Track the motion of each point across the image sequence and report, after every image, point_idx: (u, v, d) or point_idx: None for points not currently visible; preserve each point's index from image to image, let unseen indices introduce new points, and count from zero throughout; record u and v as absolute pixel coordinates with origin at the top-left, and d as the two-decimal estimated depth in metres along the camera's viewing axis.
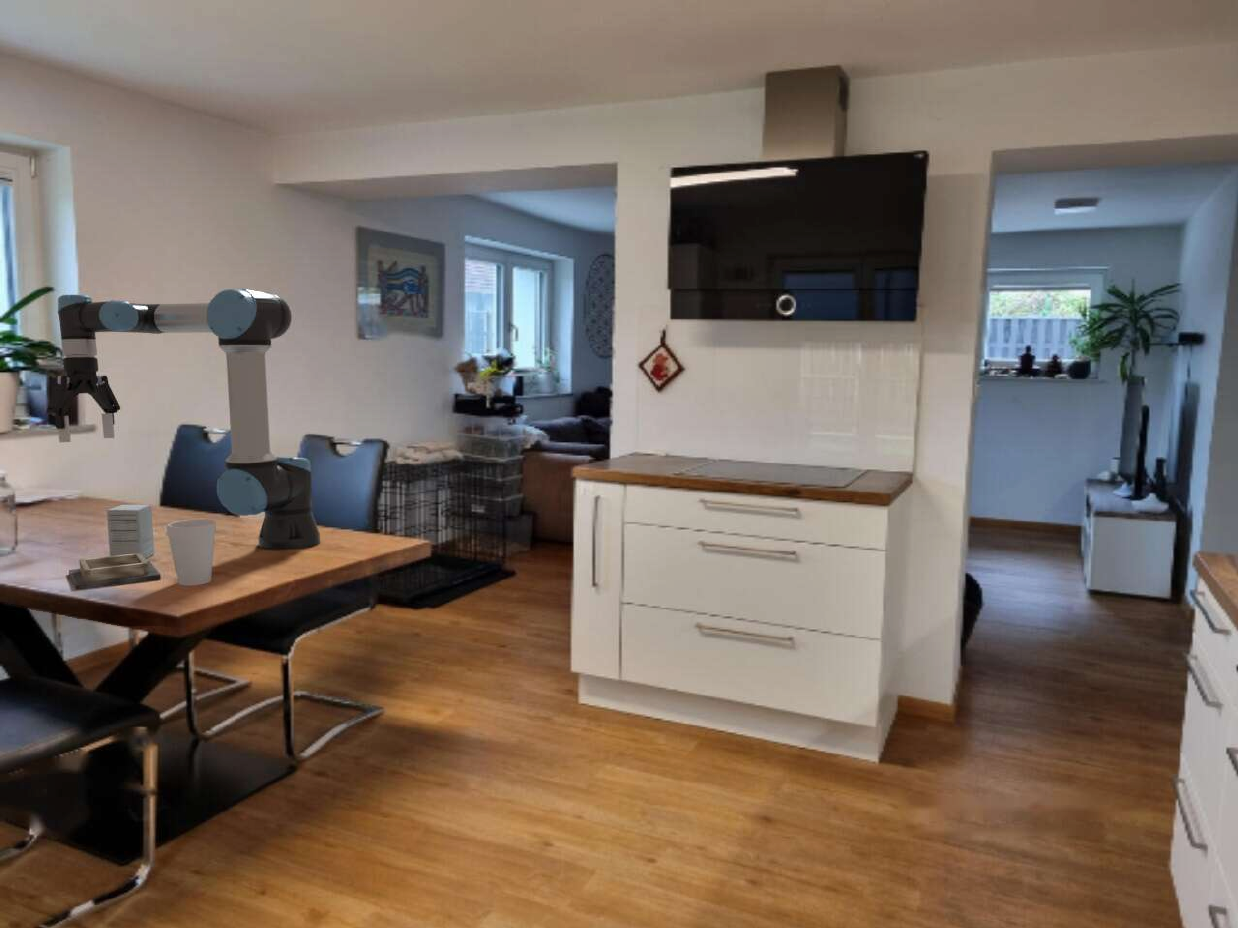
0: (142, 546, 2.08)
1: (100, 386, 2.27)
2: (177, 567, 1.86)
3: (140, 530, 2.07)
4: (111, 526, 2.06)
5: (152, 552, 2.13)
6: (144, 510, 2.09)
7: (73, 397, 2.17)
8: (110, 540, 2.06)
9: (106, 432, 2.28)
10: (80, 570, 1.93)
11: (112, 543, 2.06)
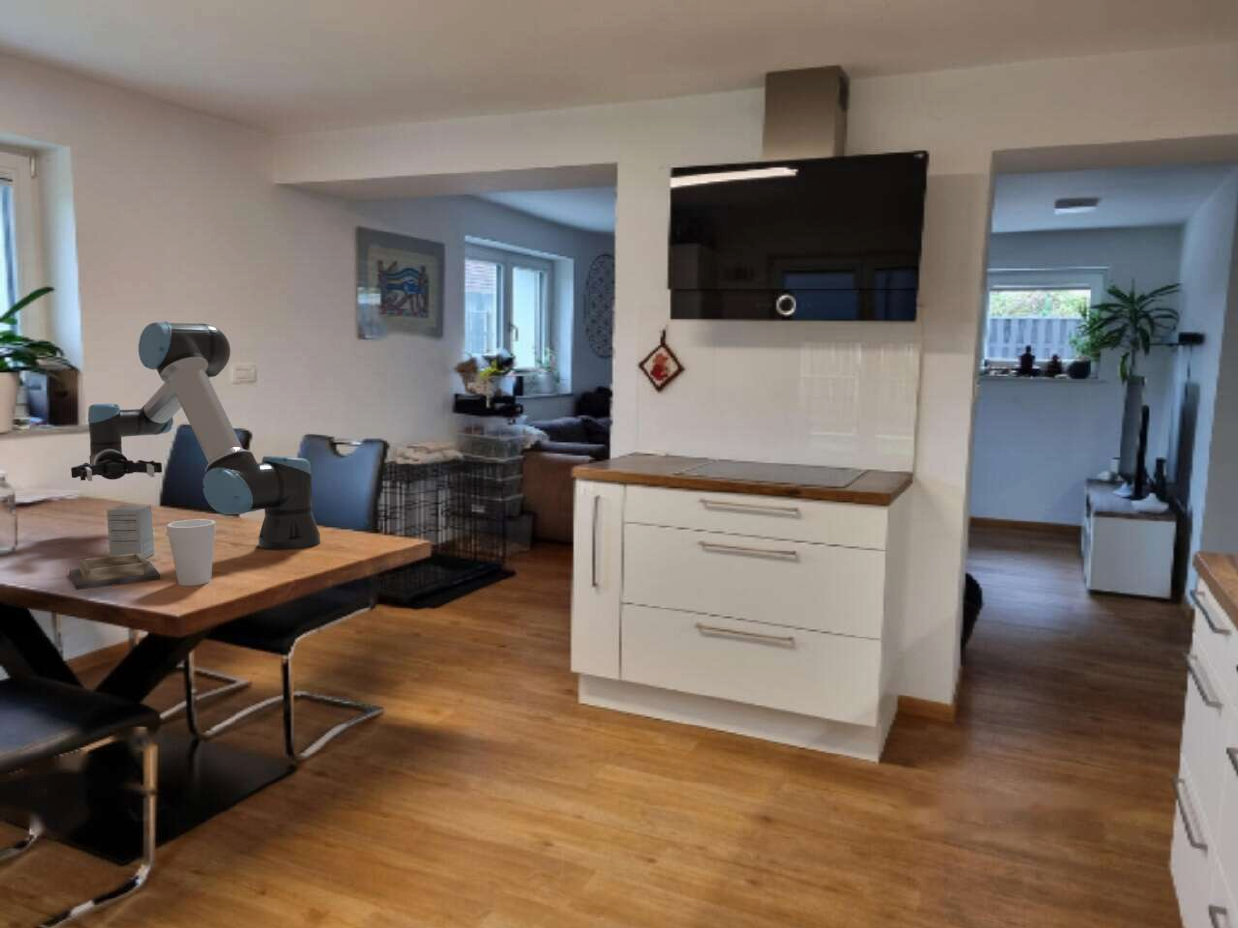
0: (142, 546, 2.08)
1: None
2: (177, 567, 1.86)
3: (140, 530, 2.07)
4: (111, 526, 2.06)
5: (152, 552, 2.13)
6: (144, 510, 2.09)
7: (96, 465, 2.22)
8: (110, 540, 2.06)
9: (150, 472, 2.21)
10: (80, 570, 1.93)
11: (112, 543, 2.06)
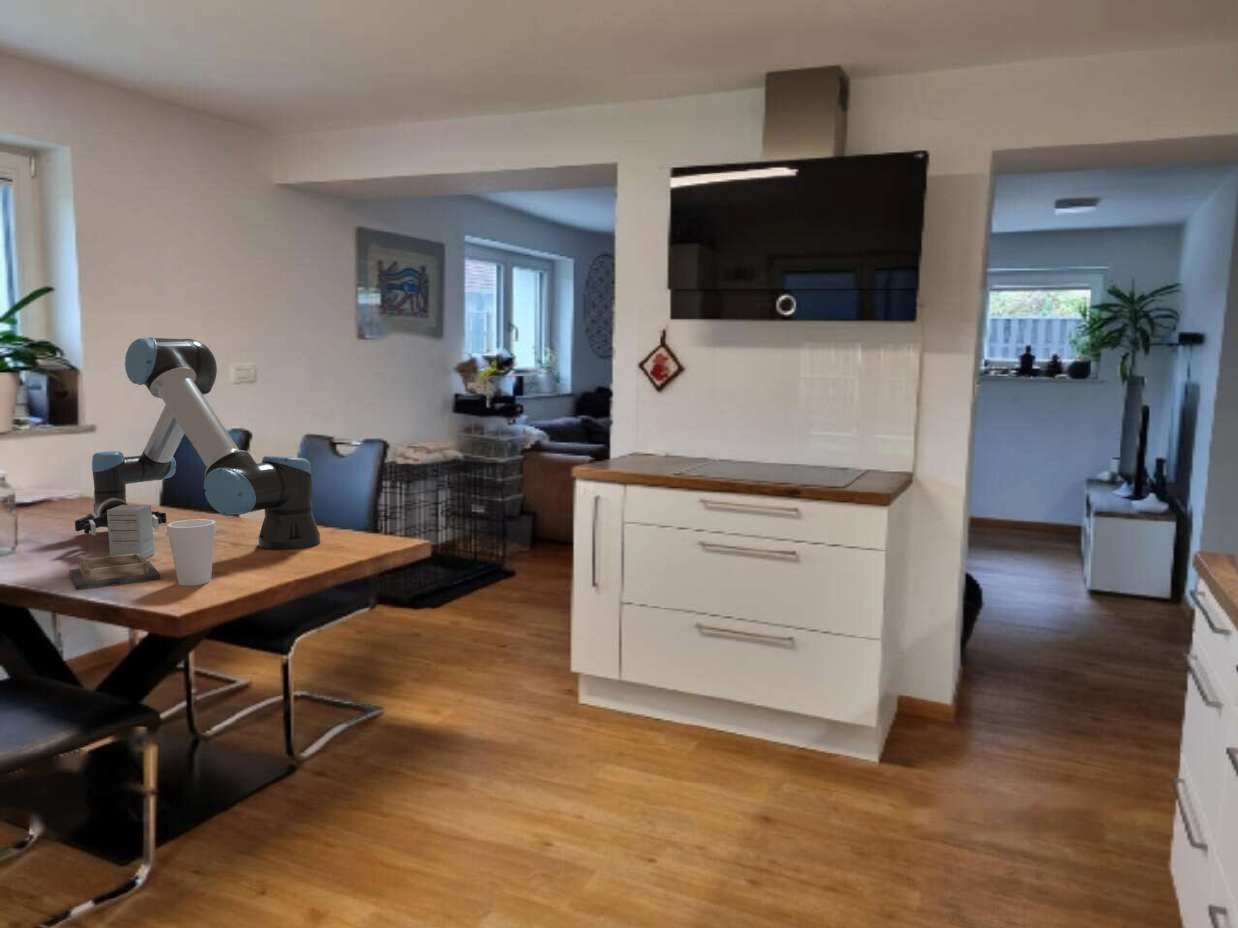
0: (142, 546, 2.08)
1: None
2: (177, 567, 1.86)
3: (140, 530, 2.07)
4: (111, 526, 2.06)
5: (152, 552, 2.13)
6: (144, 510, 2.09)
7: (100, 516, 2.20)
8: (110, 540, 2.06)
9: (154, 524, 2.19)
10: (80, 570, 1.93)
11: (112, 543, 2.06)
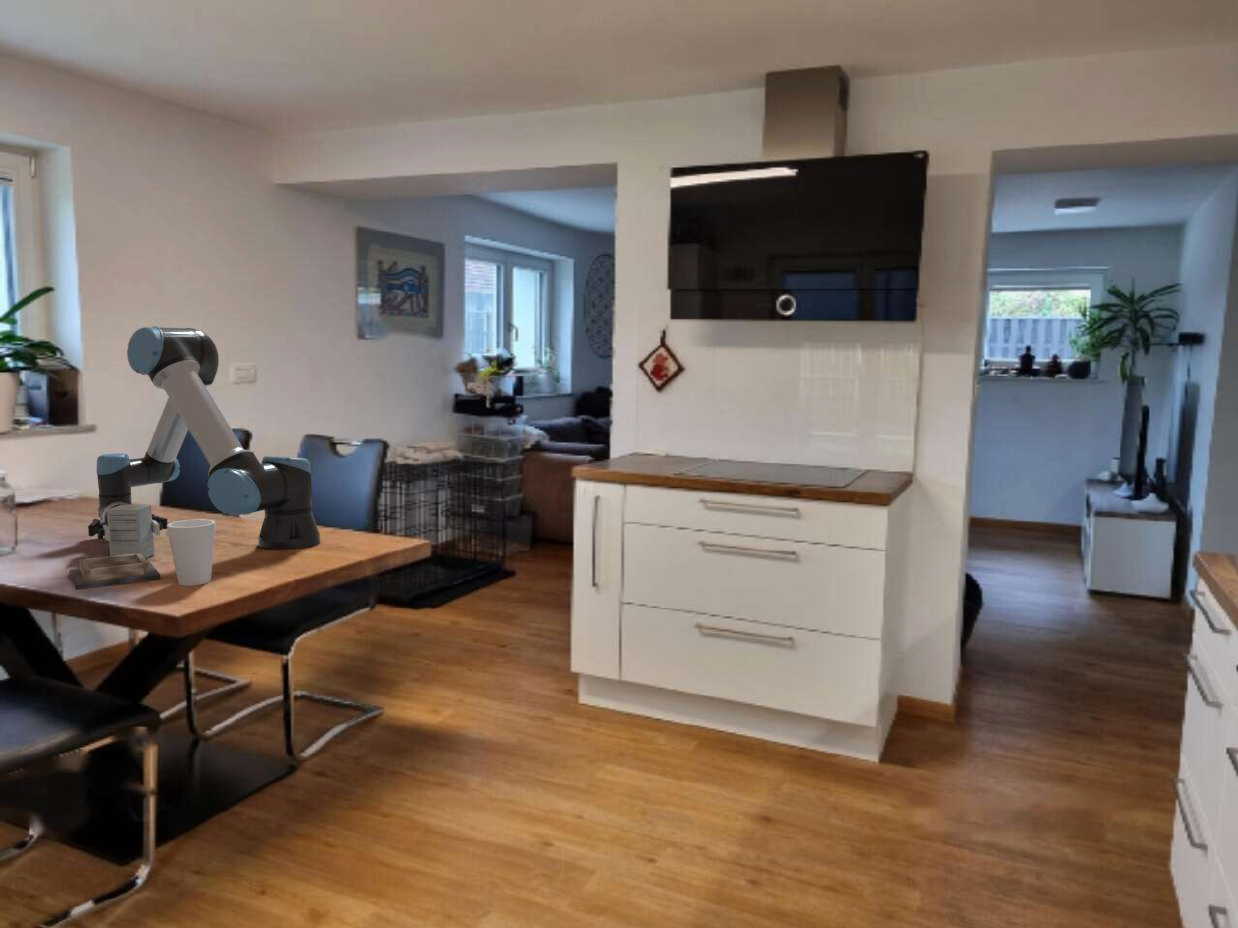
0: (142, 546, 2.08)
1: None
2: (177, 567, 1.86)
3: (140, 530, 2.07)
4: (111, 526, 2.06)
5: (152, 552, 2.13)
6: (144, 510, 2.09)
7: None
8: (110, 540, 2.06)
9: (155, 530, 2.10)
10: (80, 570, 1.93)
11: (112, 543, 2.06)
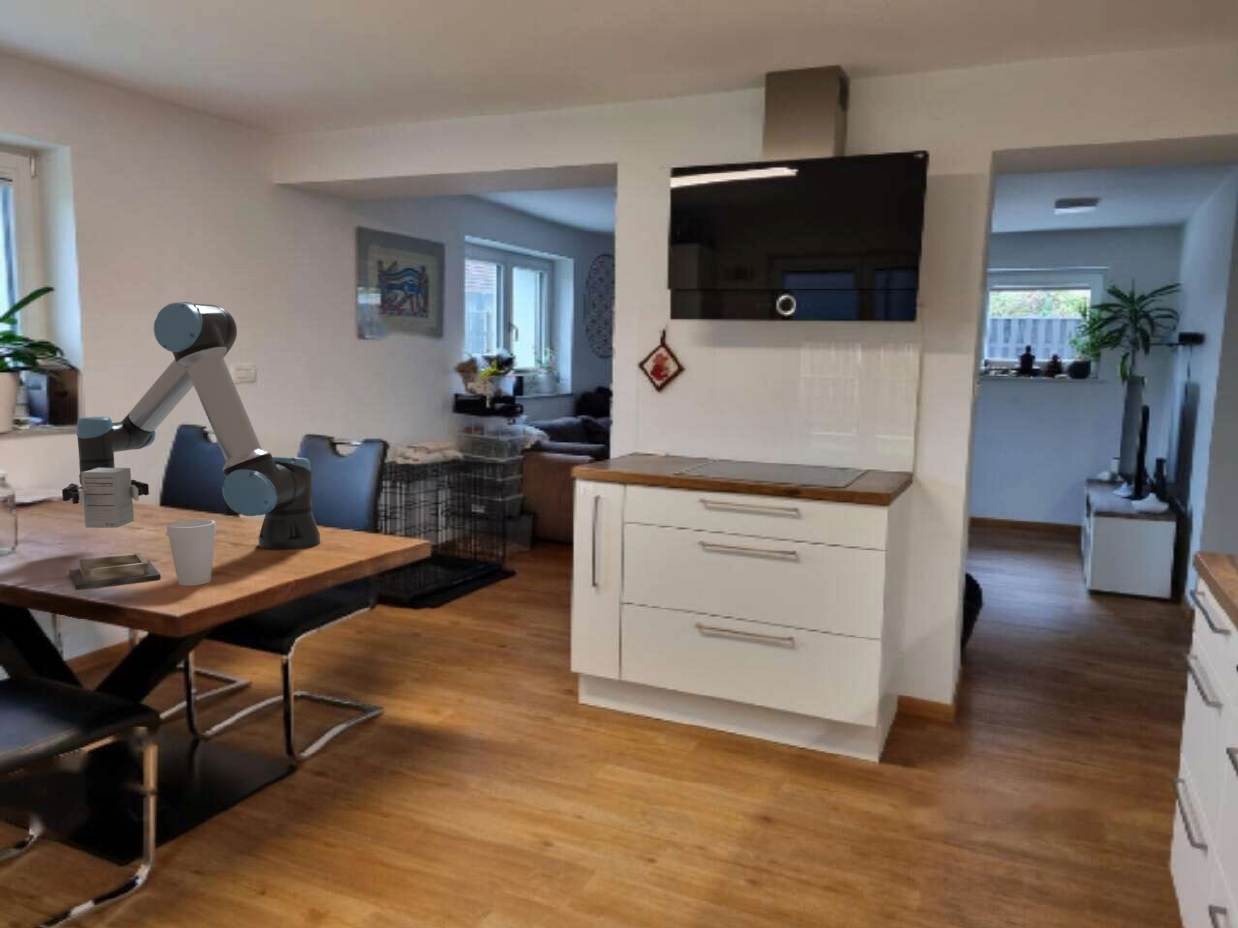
0: (119, 512, 1.93)
1: None
2: (177, 567, 1.86)
3: (117, 495, 1.93)
4: (86, 490, 1.91)
5: (131, 519, 1.99)
6: (122, 473, 1.94)
7: None
8: (85, 505, 1.92)
9: (133, 495, 1.96)
10: (80, 570, 1.93)
11: (87, 508, 1.92)
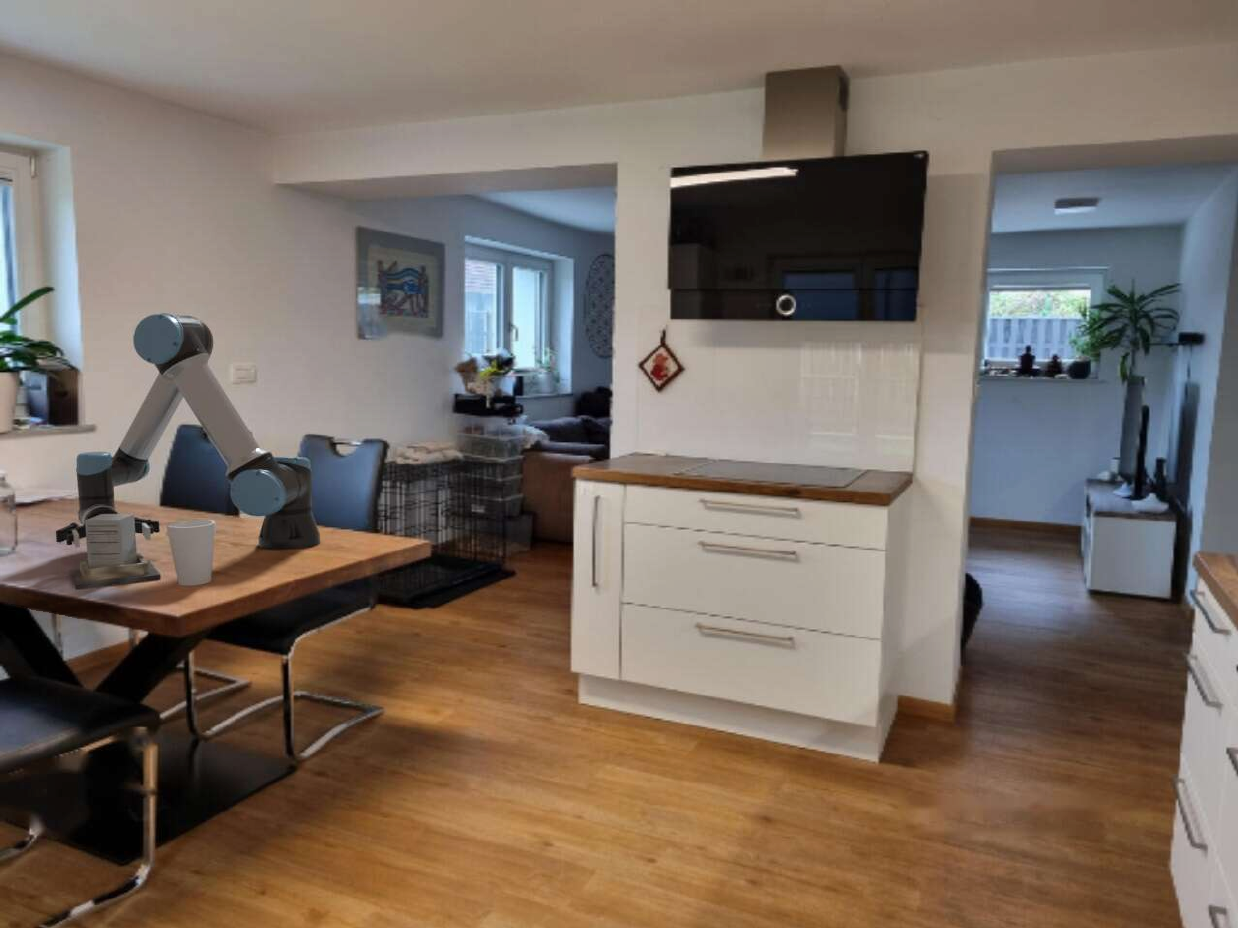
0: (124, 560, 1.90)
1: None
2: (177, 567, 1.86)
3: (122, 542, 1.89)
4: (90, 538, 1.88)
5: None
6: (126, 520, 1.91)
7: None
8: (89, 553, 1.88)
9: (145, 534, 1.94)
10: (80, 570, 1.93)
11: (91, 556, 1.88)
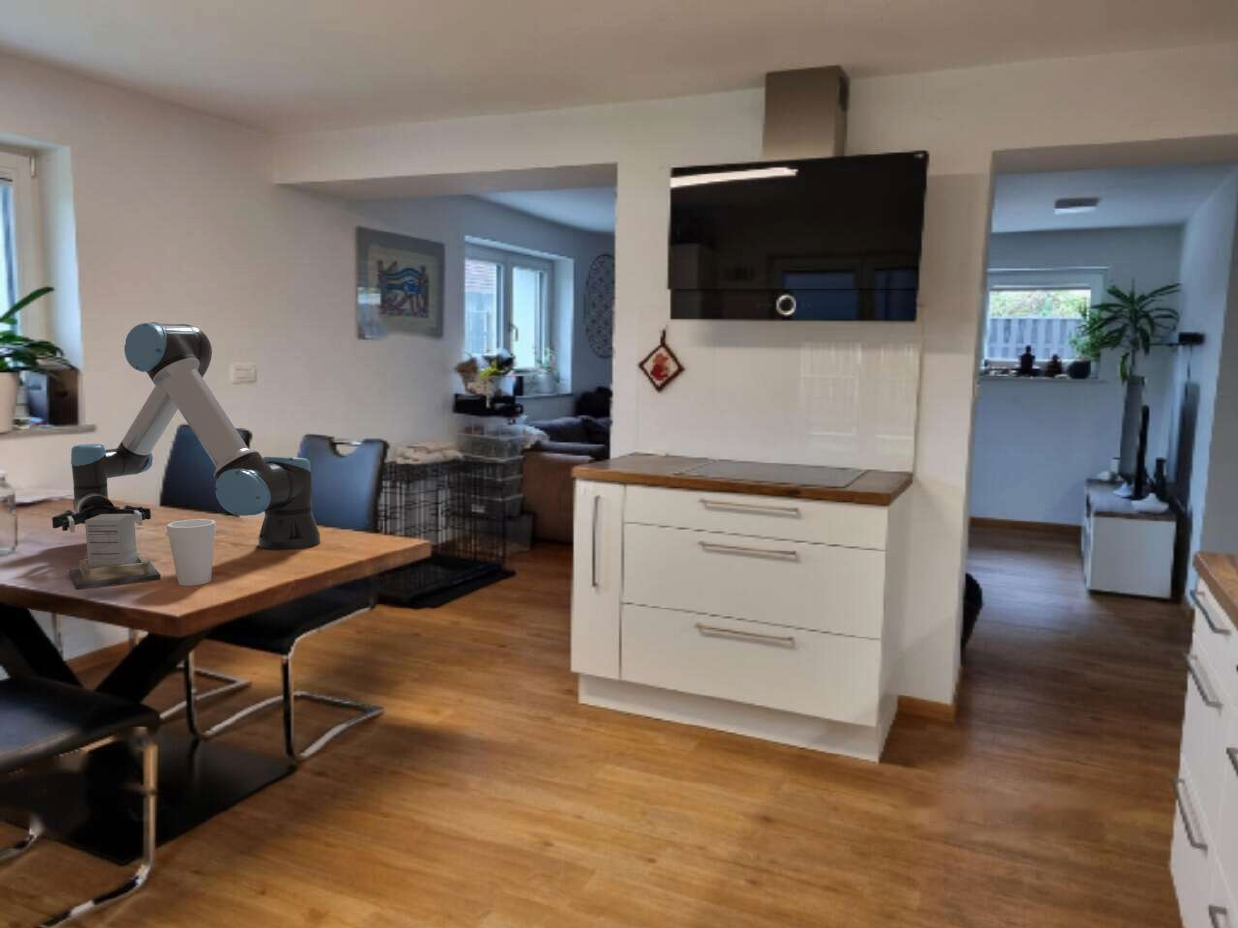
0: (124, 560, 1.90)
1: None
2: (177, 567, 1.86)
3: (122, 542, 1.89)
4: (90, 538, 1.88)
5: None
6: (126, 520, 1.91)
7: (80, 513, 2.06)
8: (89, 553, 1.88)
9: (137, 520, 2.05)
10: (80, 570, 1.93)
11: (91, 556, 1.88)
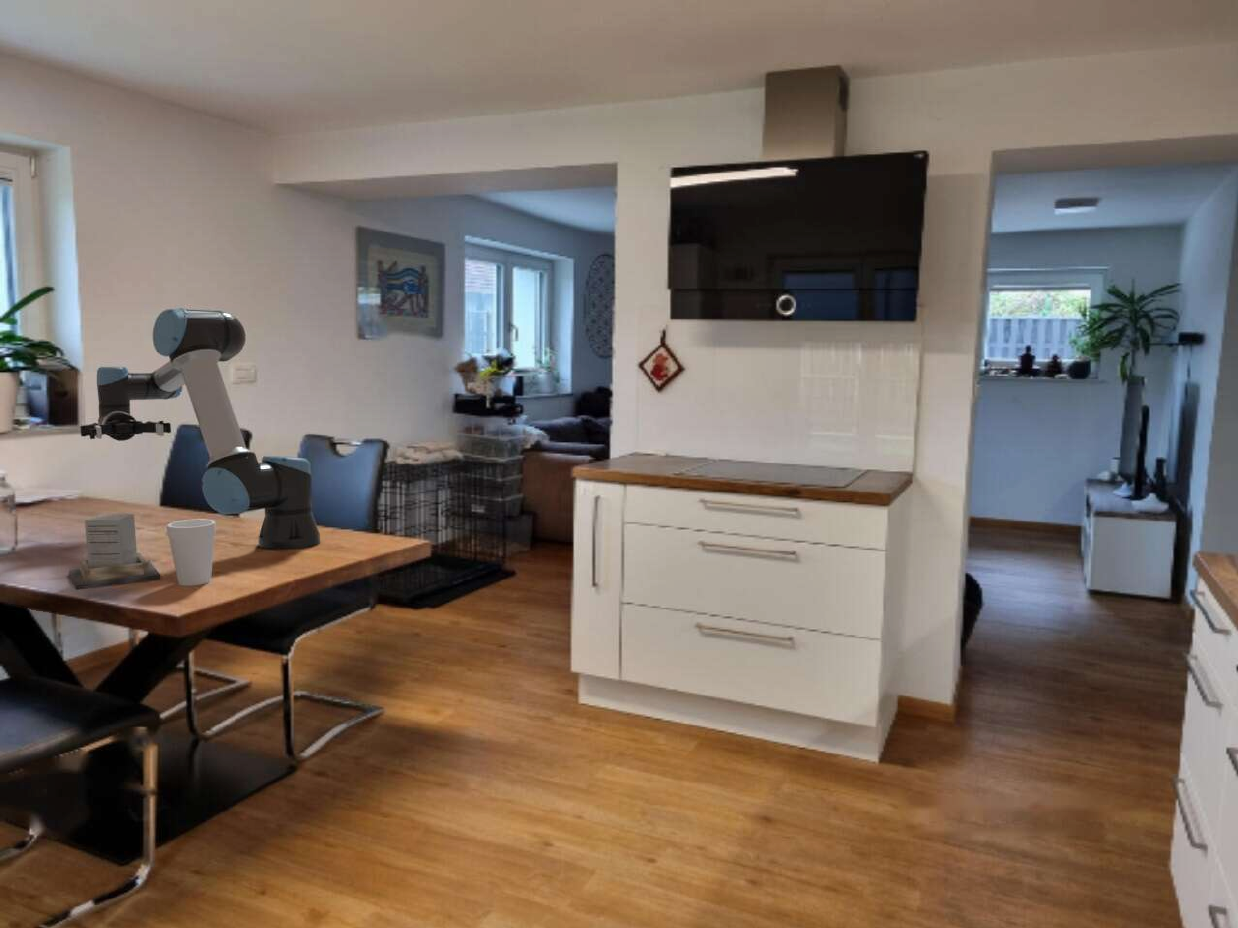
0: (124, 560, 1.90)
1: None
2: (177, 567, 1.86)
3: (122, 542, 1.89)
4: (90, 538, 1.88)
5: None
6: (126, 520, 1.91)
7: (105, 424, 2.22)
8: (89, 553, 1.88)
9: (159, 431, 2.21)
10: (80, 570, 1.93)
11: (91, 556, 1.88)
